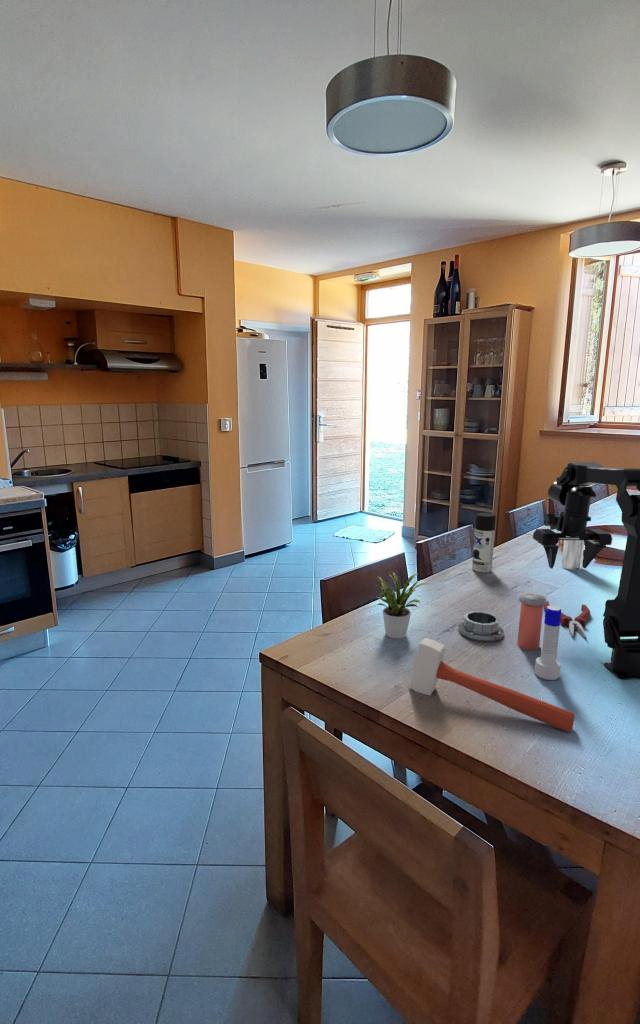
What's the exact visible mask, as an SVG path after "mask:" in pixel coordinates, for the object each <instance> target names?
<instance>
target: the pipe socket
mask: <svg viewBox="0 0 640 1024" xmlns="http://www.w3.org/2000/svg"><path fill="white" fill-rule="evenodd" d="M457 629H458V633H459V634H460V635H461V636H463V637H464V638H466V639H468V640H471V641H476V642H480V643H481V642H482V643H492V642H497V641H501V640H502V639H503V638H504V636H505V635H504V632H505V630H504V628H503V627H501V625H500V618H499V617H498V615H495V614H493V613H491V612H488V611H480V610H473V611H472V610H471V611H469V612H465V614H464V615H463V620H462V621H461V622H460V623H459V624H458V628H457Z"/></svg>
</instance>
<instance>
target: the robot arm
mask: <svg viewBox="0 0 640 1024" xmlns="http://www.w3.org/2000/svg"><path fill="white" fill-rule="evenodd" d="M560 474H561V475H560V476H559V477H556V481H555V482H553V483H552V484H551V485H550V486H549V488H548V489H547V495H548V498H549V499H550V500H552V501H553V502H554V503H555V502H556V503H558V504H559V505H562V506H564V510H563V511H560V513H559V516H555V514H554V513H545V514H544V518H543V525H544V527H549V528H536V529H535V530H534V531H533V534H532V539H533V540H534V541H535V542H537V543H538V544H541V546H543V548H544V553H545V555H546V559H547V563H548V567H549V568H550V569H553V568H554V566H555V563H556V559H557V555H558V552H559V551H558V550H559V548H560V547H559V546H558V545H557V544H558V543H559V541H564V540H584V550H583V559H582V568H583V569H587V567H589V565H590V564H591V563H592V561H593V560H594V559H595V557H596V556H598V554H599V553H600V552H602V551H603V549H606V548H607V546H612V543H613V535H612V534H611V533H610V532H607V531H605V530H603V529H600V528H587V526H588V522H591V521H592V517H591V516H589V514H590V508H591V507H590V506H591V501H592V498H596V497H597V493H596V492H595V491H594V490H593V487H592V486H594V485H599V484H603V485H610V486H611V485H612V486H615V487H616V488H617V492H616V497H615V502H616V503H617V505H618V508H619V509H620V511H621V523H622V525H623V527H624V529H625V531H626V533H627V535H626V536H627V537H626V543H625V548H624V555H623V559H622V560H623V562H622V565H621V566H622V567H621V571H620V572H621V573H620V578H619V583H618V585H619V586H618V591H617V595H616V597H615V598H614V599H607V600H606V601H605V605H604V612H603V614H602V617H603V620H602V626H603V628H602V629H603V636H604V637H603V638H604V643H605V644H607V645H606V647H608V649H609V648H610V649H611V656H610V662H603V663H604V664H603V665H604V666H605V668H607V669H608V670H609V671H610V672H611V673H613V675H615V676H616V677H617V678H618V679H620V680H633V679H634V680H640V494H629V492H628V490H627V488H632V487H633V488H636V489H637V491H639V492H640V468H638V467H636V468H634V467H632V468H631V467H630V468H621V467H620V468H619V467H604V466H603V465H602V464H600V463H597V462H595V461H570V462H568V463H567V466H565V468H564V469H563V470H562V472H561V473H560ZM591 485H592V486H591ZM554 530H556V531H557V532H555V531H554ZM566 536H570V537H566Z"/></svg>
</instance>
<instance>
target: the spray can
mask: <svg viewBox="0 0 640 1024" xmlns="http://www.w3.org/2000/svg"><path fill="white" fill-rule="evenodd" d="M495 532H496V514H494V513H489V512H480V513H476V514H475V522H474V534H473V535H474V536H473V537H474V538H473V550H472V564H471V565H472V566H471V568H472V571H474V572H475V573H476V572H477V573H480V574H488V573H491V572H492V570H493V559H494V557H493V556H494V544H495Z"/></svg>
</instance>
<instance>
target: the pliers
mask: <svg viewBox="0 0 640 1024" xmlns="http://www.w3.org/2000/svg"><path fill="white" fill-rule="evenodd" d="M547 606H551V604H550V602H549V600H546V604H545V605H543V612H545V609H546V607H547ZM580 611H581V613H579V614H578V615H577V616H575V618H574V619H573V618H572V617H571V616H569V615H567V614H565V613H564V612H563V611H561V619H560V627H568V632H569V633H570V635H571V637H574V632H575V631H577V633H578V634H579V635H580V636H581V637H583V638H585V639H586V638H587V635H586V633H585V630H584V629H585V628H586V625H587V621H588V620H589V618H590V617H591V610H590V608H589V607H588V606H587V605H586V604H583V603H582V604H581V608H580Z"/></svg>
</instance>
